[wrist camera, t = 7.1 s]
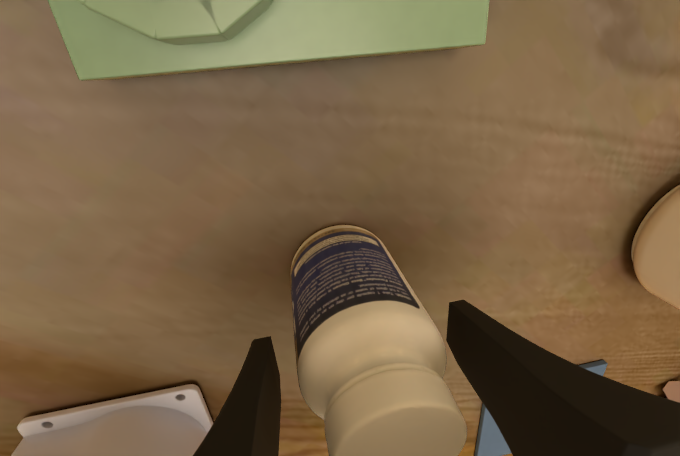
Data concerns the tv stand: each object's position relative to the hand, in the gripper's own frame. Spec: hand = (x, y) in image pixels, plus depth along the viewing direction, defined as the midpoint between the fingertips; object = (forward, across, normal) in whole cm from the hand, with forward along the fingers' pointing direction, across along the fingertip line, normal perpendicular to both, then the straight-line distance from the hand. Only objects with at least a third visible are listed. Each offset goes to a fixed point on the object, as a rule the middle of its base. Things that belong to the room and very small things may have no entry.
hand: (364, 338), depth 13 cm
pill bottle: (+6, 0, 0) cm, 6 cm away
